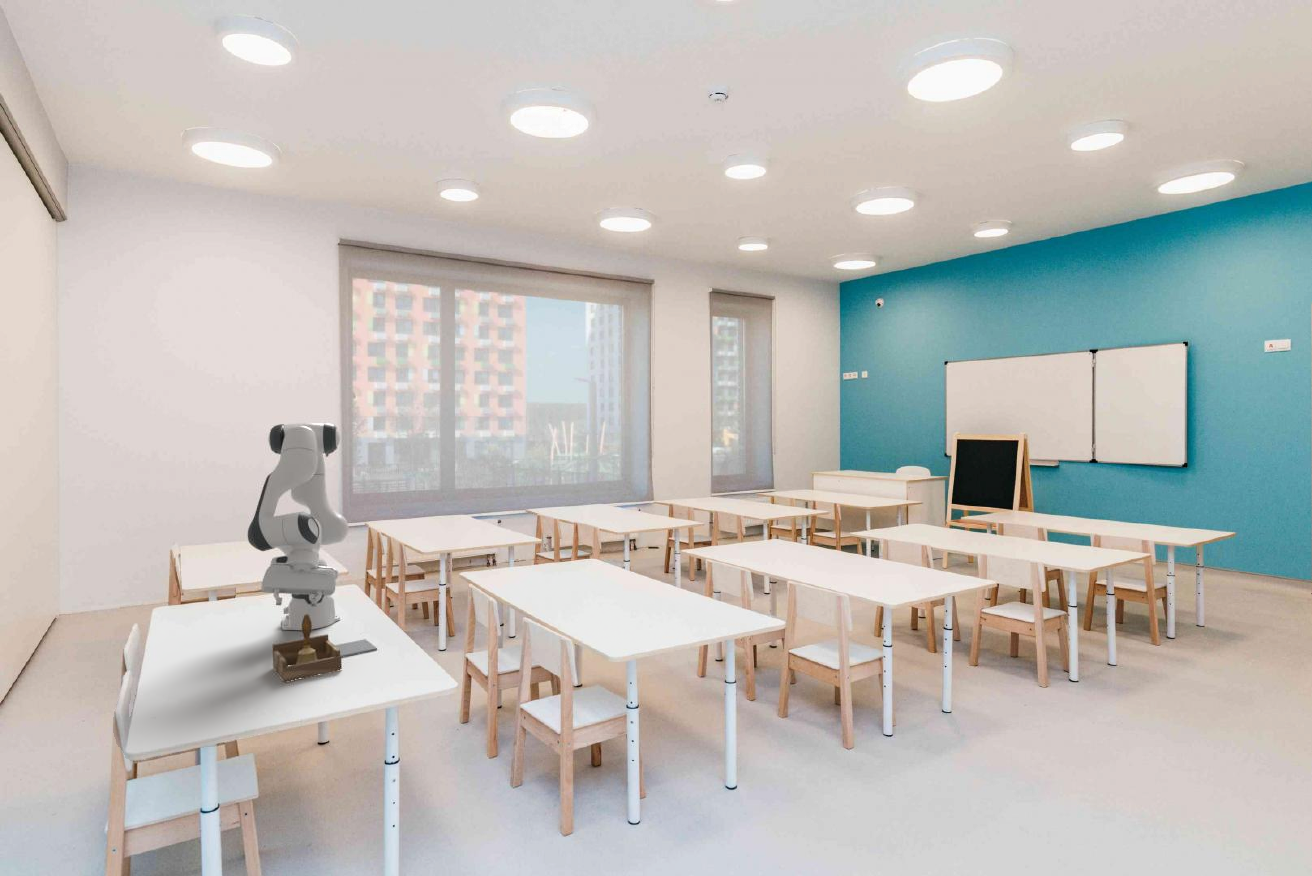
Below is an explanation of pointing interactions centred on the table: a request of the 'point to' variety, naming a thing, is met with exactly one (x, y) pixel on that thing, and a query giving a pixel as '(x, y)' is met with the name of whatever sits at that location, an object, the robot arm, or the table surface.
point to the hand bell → (306, 643)
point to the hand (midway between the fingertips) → (296, 605)
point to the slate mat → (355, 647)
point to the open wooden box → (289, 655)
